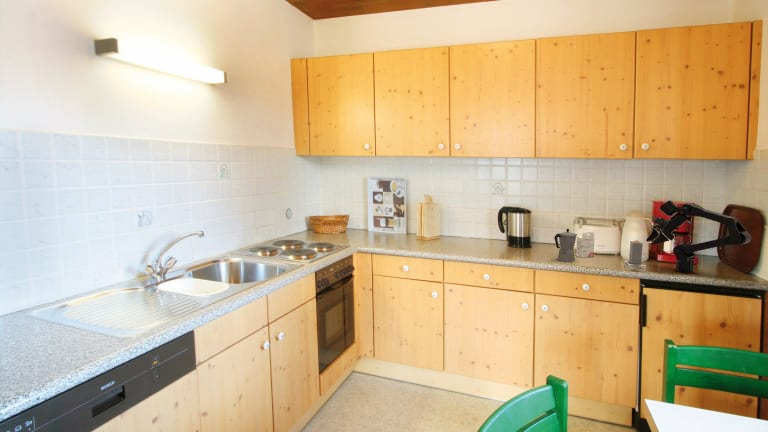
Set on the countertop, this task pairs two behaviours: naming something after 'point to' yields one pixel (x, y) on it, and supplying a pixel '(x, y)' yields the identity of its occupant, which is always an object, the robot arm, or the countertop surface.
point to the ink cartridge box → (585, 245)
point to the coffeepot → (566, 246)
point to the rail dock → (634, 267)
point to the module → (635, 252)
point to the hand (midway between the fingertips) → (648, 242)
